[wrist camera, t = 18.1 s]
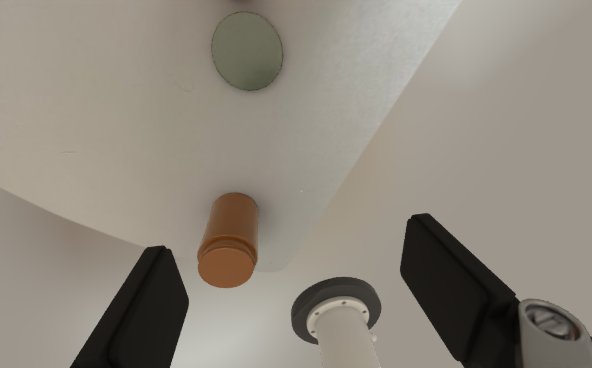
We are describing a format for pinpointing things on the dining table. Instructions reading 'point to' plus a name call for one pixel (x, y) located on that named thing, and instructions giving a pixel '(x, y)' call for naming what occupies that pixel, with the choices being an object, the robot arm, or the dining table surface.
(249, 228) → the jar
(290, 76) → the dining table surface
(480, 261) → the robot arm
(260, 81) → the lid
